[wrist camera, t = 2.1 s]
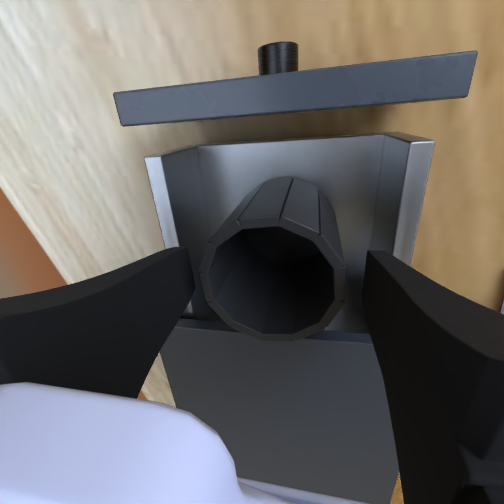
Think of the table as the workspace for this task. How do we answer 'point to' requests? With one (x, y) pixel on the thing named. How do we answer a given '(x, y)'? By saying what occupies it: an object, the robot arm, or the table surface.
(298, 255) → the dark grey faceted cup
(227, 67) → the table surface
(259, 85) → the drawer
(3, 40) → the table surface
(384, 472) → the dark grey cabinet
